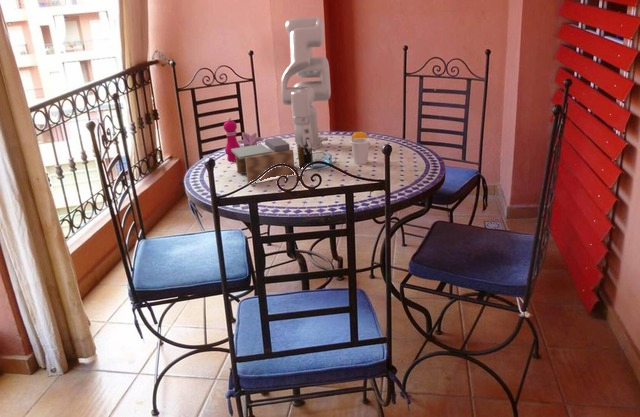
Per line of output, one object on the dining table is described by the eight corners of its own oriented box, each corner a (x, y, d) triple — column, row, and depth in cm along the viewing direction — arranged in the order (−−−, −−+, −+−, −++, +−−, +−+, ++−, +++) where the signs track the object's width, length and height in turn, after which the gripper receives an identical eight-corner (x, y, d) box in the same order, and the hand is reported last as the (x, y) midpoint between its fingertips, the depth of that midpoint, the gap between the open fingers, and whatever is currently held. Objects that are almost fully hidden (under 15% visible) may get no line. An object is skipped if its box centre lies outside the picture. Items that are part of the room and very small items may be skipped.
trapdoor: (279, 147, 237) (278, 137, 236) (290, 154, 225) (289, 144, 223) (231, 155, 230) (230, 145, 228) (240, 163, 218) (239, 152, 216)
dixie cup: (360, 158, 244) (359, 136, 240) (374, 161, 238) (373, 139, 234) (347, 163, 238) (346, 141, 235) (361, 166, 233) (360, 143, 229)
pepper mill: (239, 162, 251) (233, 119, 244) (224, 162, 253) (218, 119, 245) (244, 157, 258) (239, 115, 250) (229, 157, 259) (224, 115, 252)
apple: (363, 149, 257) (362, 134, 254) (348, 148, 261) (347, 133, 258) (370, 145, 263) (370, 130, 260) (356, 144, 267) (355, 129, 264)
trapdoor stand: (284, 164, 243) (282, 140, 239) (298, 175, 227) (296, 149, 223) (237, 173, 235) (234, 148, 231) (248, 184, 220) (245, 158, 216)
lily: (268, 150, 270) (265, 132, 271) (256, 147, 259) (252, 128, 260) (248, 157, 274) (244, 139, 275) (235, 154, 264) (232, 135, 265)
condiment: (310, 163, 242) (308, 137, 237) (318, 168, 234) (316, 141, 230) (295, 166, 239) (293, 139, 235) (302, 171, 232) (300, 144, 227)
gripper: (317, 122, 223) (320, 164, 230) (302, 115, 238) (305, 154, 245) (300, 125, 221) (304, 167, 228) (286, 117, 236) (289, 157, 243)
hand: (304, 160), depth 236 cm, fingers closed on condiment, 6 cm apart
